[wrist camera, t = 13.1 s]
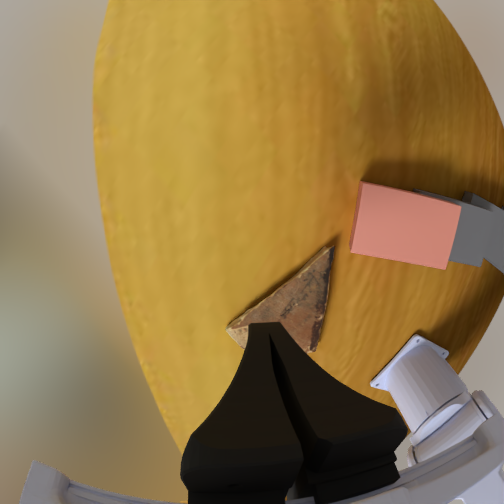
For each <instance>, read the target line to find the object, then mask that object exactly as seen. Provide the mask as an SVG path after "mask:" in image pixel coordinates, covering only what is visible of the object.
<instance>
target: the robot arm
mask: <svg viewBox="0 0 504 504" xmlns="http://www.w3.org/2000/svg"><path fill="white" fill-rule="evenodd" d="M448 355H449V352H448V351H447V350H445V349H444V348H442V347H440V346H438V345H436V344H434V343H433V342H431V341H429V340H427V339H425V338H424V337H422V336H420V335H418V334H415V335H413V336H412V338H411V339H410V340H409V341H408V342H407V344H406V345H405V346H404V347H403V348H402V349H401V350H400V352H399V353H398V354H397V355H396V356H395V357H394V358H393V359H392V360H391V362H390V363H389V364H388V365H387V366H386V367H385V368H384V369H383V370H382V371H381V372H380V373H379V374H378V375H377V376H376V377H375V378H374V379H373V380H372V381H371V383H370V385H371V387H375V388H379V389H383V390H387V391H389V392H390V393H391V395H392V397H393V399H394V400H395V402H396V404H397V406H398V408H399V409H400V411H401V413H402V415H403V417H404V419H405V420H406V422H407V424H408V426H409V428H410V430H411V431H412V433H413V436H412V437H410V441H411V443H412V445H411V446H410V447H409V449H408V455H407V461H408V465H409V467H408V468H406V469H404V470H401V471H399V472H398V470H397V468H396V465H395V463H394V462H395V461H396V460H397V458H396V455H395V453H394V451H395V450H396V448H397V447H398V446H399V445H400V443H401V442H402V441H403V440H404V438H405V437H406V435H407V432H408V428H407V427H406V425H405V423H404V421H403V419H402V417H401V415H400V414H399V413H398V411H397V410H396V408H393V407H390V406H387V405H385V404H382V403H379V402H377V401H374V400H372V399H370V398H368V397H366V396H364V395H362V394H360V393H358V392H356V391H354V390H352V389H351V388H349V387H347V386H346V385H344V384H343V383H341V382H339V381H338V380H336V379H335V378H334V377H332V376H331V375H330V374H328V373H327V372H326V371H325V370H323V369H322V368H321V367H320V366H319V365H318V364H317V363H316V362H315V361H313V360H312V359H311V358H310V357H309V356H308V355H307V354H306V353H305V351H304V350H303V349H302V348H301V347H300V346H299V345H298V344H297V343H296V341H295V340H294V339H293V338H292V337H291V335H290V334H289V333H288V332H287V330H286V329H285V328H284V326H283V325H282V324H281V323H280V322H263V323H250V324H249V325H248V339H247V344H246V347H245V351H244V354H243V357H242V360H241V362H240V365H239V367H238V370H237V372H236V374H235V376H234V378H233V380H232V382H231V384H230V386H229V387H228V389H227V391H226V392H225V394H224V396H223V397H222V399H221V400H220V402H219V403H218V404H217V406H216V407H215V408H214V410H213V411H212V412H211V414H210V415H209V416H208V417H207V418H206V420H205V421H204V422H203V423H202V424H201V425H200V426H199V427H198V428H197V429H196V430H195V431H194V432H193V433H192V434H191V436H190V438H189V441H188V443H187V445H186V448H185V450H184V453H183V457H182V461H181V472H180V476H181V480H182V481H183V483H184V485H185V486H186V488H187V490H188V504H448V503H449V502H451V501H453V500H454V499H462V500H463V502H464V503H465V504H504V472H503V470H502V466H503V464H504V418H503V417H502V416H501V414H500V413H499V411H498V410H497V409H496V407H495V406H494V405H493V403H492V402H491V401H490V399H489V398H488V397H487V396H486V394H485V393H484V392H483V391H482V390H481V391H477V390H476V391H474V392H473V393H472V395H471V394H470V393H469V392H468V389H467V387H466V385H465V384H464V383H463V381H462V380H461V379H460V377H459V376H458V375H457V373H456V372H455V371H454V370H453V368H452V367H451V366H450V365H449V364H448V362H447V361H446V360H445V358H446V357H447V356H448ZM286 495H287V501H285V497H286ZM19 504H185V503H174V502H165V501H157V500H150V499H144V498H138V497H133V496H128V495H123V494H119V493H115V492H110V491H106V490H103V489H99V488H95V487H92V486H89V485H85V484H82V483H79V482H76V481H73V480H70V479H69V478H68V477H67V476H66V475H65V474H64V473H62V472H61V471H59V470H57V469H55V468H53V467H50V466H48V465H45V464H43V463H41V462H38V461H36V460H33V462H32V464H31V467H30V470H29V473H28V476H27V479H26V482H25V485H24V488H23V491H22V495H21V498H20V502H19Z"/></svg>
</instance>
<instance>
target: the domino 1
mask: <svg viewBox="0 0 504 504" xmlns="http://www.w3.org/2000/svg"><path fill="white" fill-rule="evenodd" d="M413 192H415V193H419V194H423V195H427V196H431V197H435V198H438V199H442V200H446V201H449V202H453V203H455V204H457V205H459V206H461V212H460V216H459V221H458V225H457V230H456V234H455V238H454V241H453V245H452V249H451V252H450V256H449V259H448V261H453V262H458V263H463V264H468V265H473V266H478V267H481V264H482V261H483V258H484V254H485V251H486V247H487V244H488V240H489V236H490V232H491V228H492V223H493V219H494V214H495V212H493V211H490V210H488V209H486V208H483V207H480V206H477V205H474V204H470V203H467V202H464V201H460V200H457V199H453V198H450V197H446V196H442V195H438V194H435V193H431V192H427V191H423V190H419V189H415V188H414V189H413Z"/></svg>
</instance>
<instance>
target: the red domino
mask: <svg viewBox="0 0 504 504" xmlns="http://www.w3.org/2000/svg"><path fill="white" fill-rule="evenodd" d="M460 212H461V206H459V205H457V204H455V203H453V202H449V201H446V200H442V199H438V198H435V197H431V196H427V195H423V194H419V193H415V192H411V191H406V190H402V189H398V188H393V187H388V186H384V185H379V184H374V183H369V182H364V181H360V184H359V191H358V197H357V204H356V210H355V216H354V221H353V227H352V232H351V237H350V243H349V246H350V251H351V253H357V254H362V255H368V256H374V257H379V258H385V259H390V260H396V261H401V262H407V263H412V264H417V265H423V266H428V267H433V268H439V269H444V270H445V269H446V266H447V263H448V259H449V256H450V252H451V249H452V245H453V241H454V238H455V234H456V230H457V225H458V221H459V216H460Z"/></svg>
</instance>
